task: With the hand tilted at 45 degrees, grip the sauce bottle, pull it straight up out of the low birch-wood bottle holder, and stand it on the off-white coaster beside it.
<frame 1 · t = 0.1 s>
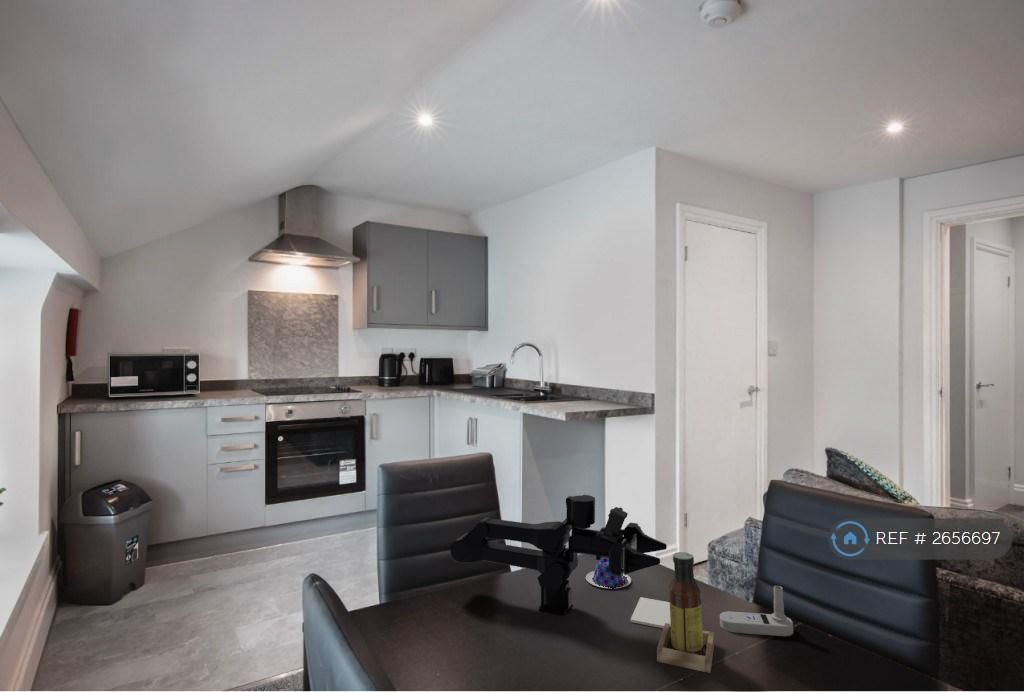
hand: (663, 553, 122), 17 cm above the table, tool horizontal, fingers open, 9 cm apart
pudding: (608, 582, 147), on the table
sauce bottle: (686, 653, 112), resting in bottle holder
coaster: (661, 615, 128), on the table
electronic device: (755, 630, 122), on the table
bottle holder: (686, 652, 112), on the table
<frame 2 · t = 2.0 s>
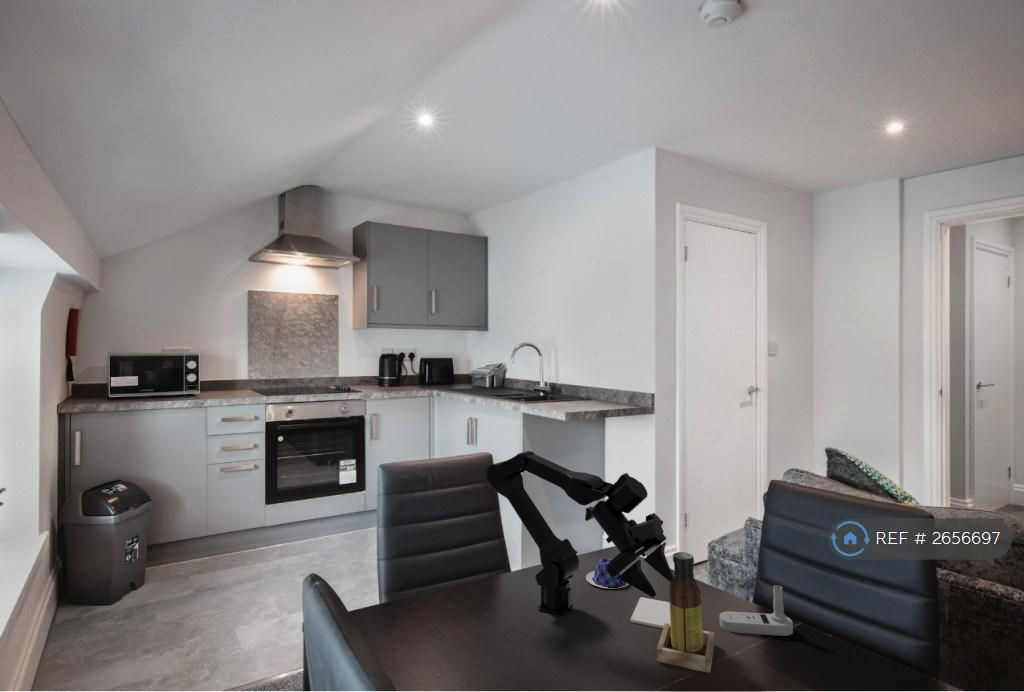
hand: (663, 588, 115), 12 cm above the table, tool tilted 45°, fingers open, 9 cm apart
nothing on the table moved.
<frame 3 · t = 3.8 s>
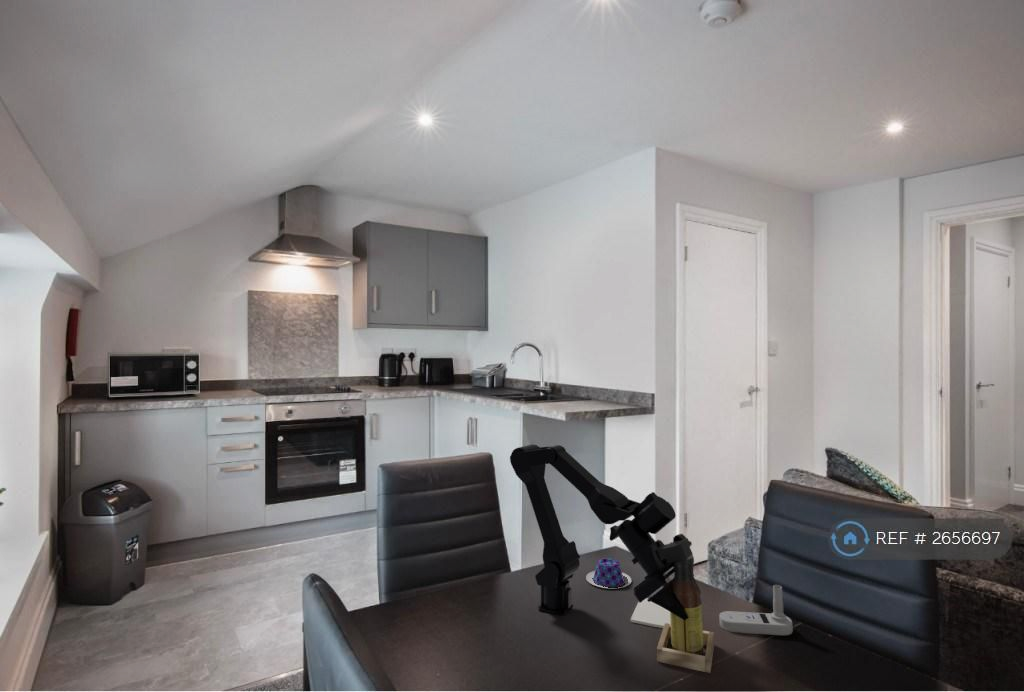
hand: (692, 612, 111), 9 cm above the table, tool tilted 45°, fingers closed on sauce bottle, 6 cm apart
sauce bottle: (686, 653, 112), resting in bottle holder, touching gripper
everything else where it was.
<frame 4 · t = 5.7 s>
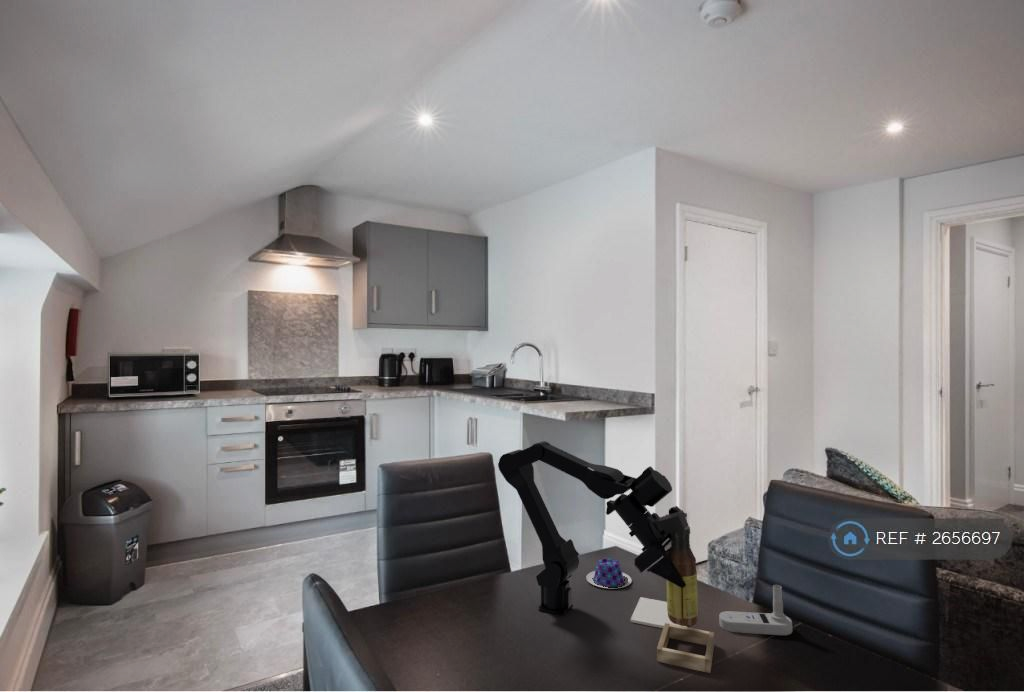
hand: (688, 580, 115), 13 cm above the table, tool tilted 45°, fingers closed on sauce bottle, 6 cm apart
sauce bottle: (681, 621, 116), point 4 cm above the table, touching gripper
everything else where it was.
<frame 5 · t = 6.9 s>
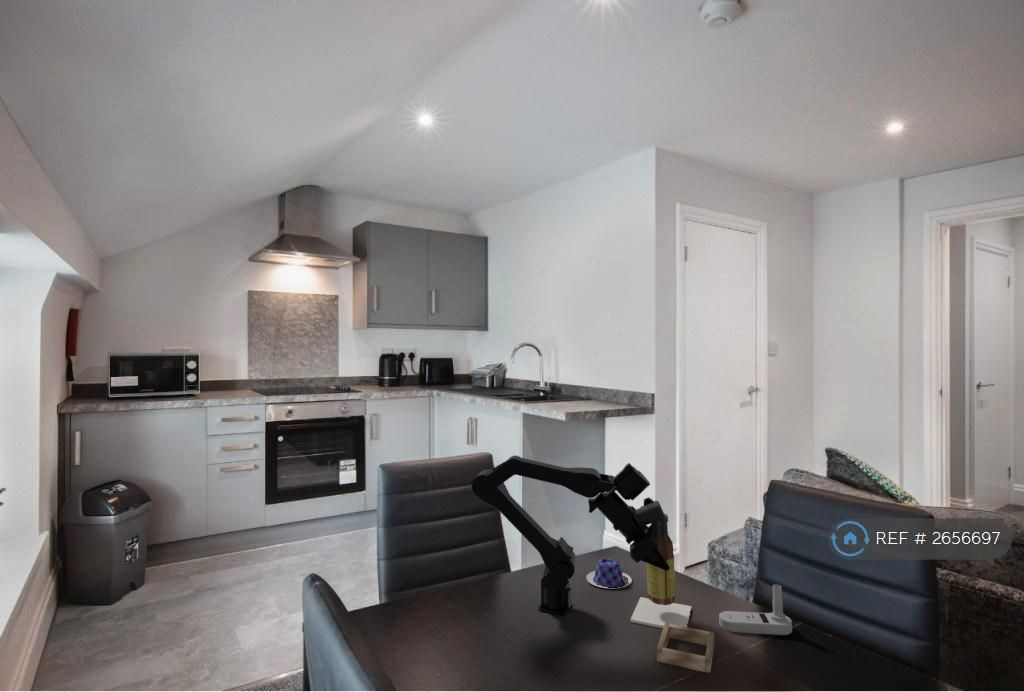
hand: (666, 563, 128), 12 cm above the table, tool tilted 45°, fingers closed on sauce bottle, 6 cm apart
sauce bottle: (660, 601, 128), point 3 cm above the table, touching gripper
everything else where it was.
when the fingers open (10 cm above the table, at t = 7.7 s): sauce bottle drops 1 cm, resting on coaster.
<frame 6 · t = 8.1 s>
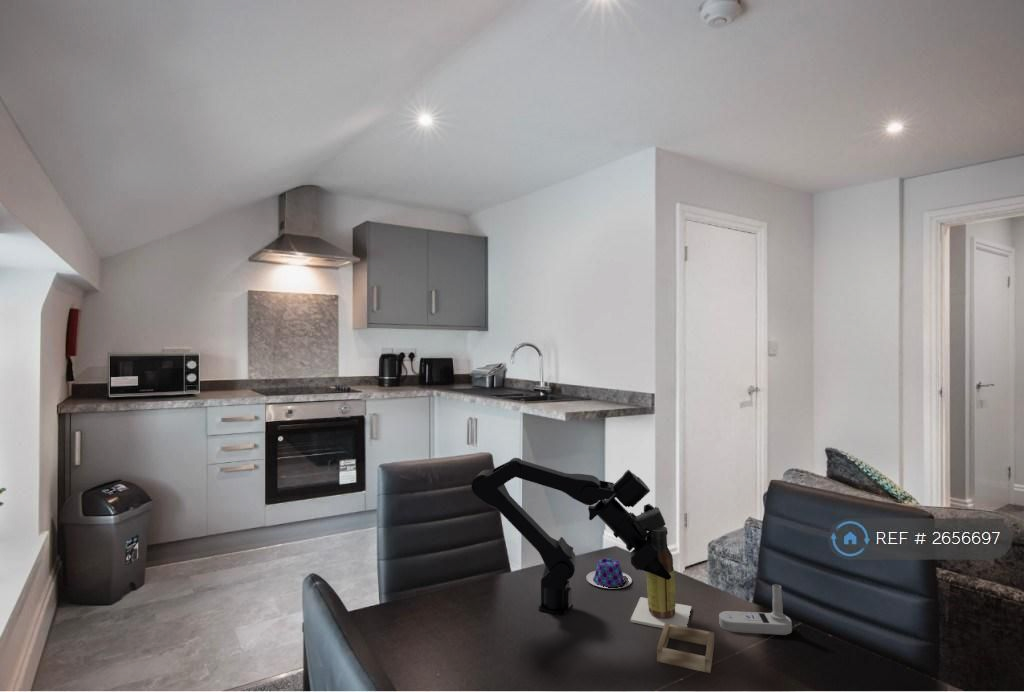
hand: (667, 570, 128), 11 cm above the table, tool tilted 45°, fingers open, 9 cm apart
sauce bottle: (661, 613, 128), resting on coaster
everything else where it was.
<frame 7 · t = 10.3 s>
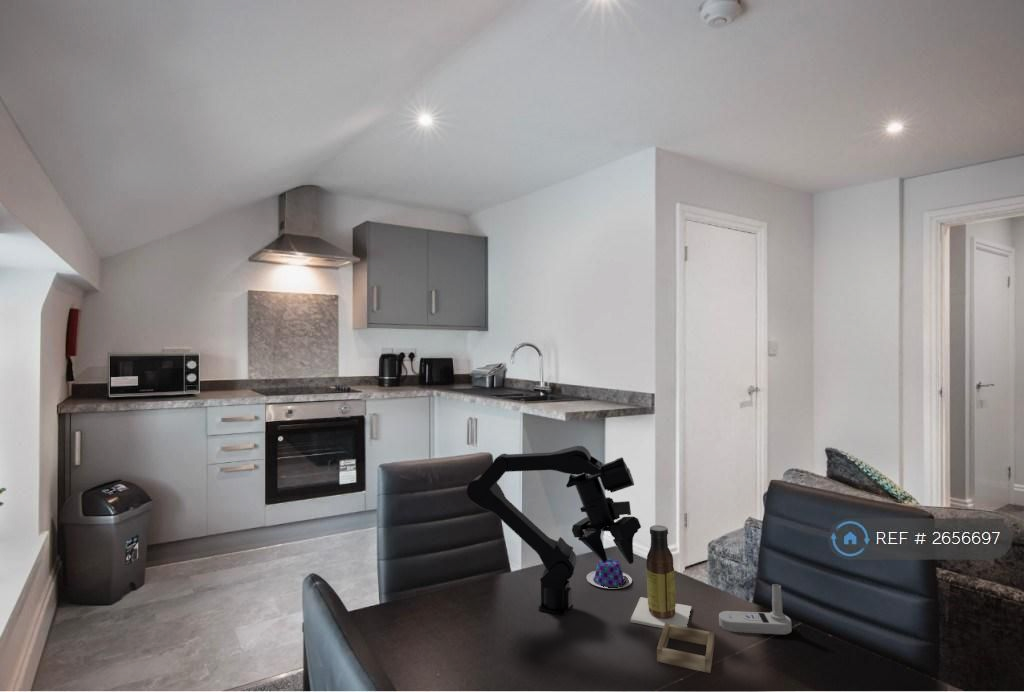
hand: (618, 562, 129), 12 cm above the table, tool tilted 20°, fingers open, 9 cm apart
nothing on the table moved.
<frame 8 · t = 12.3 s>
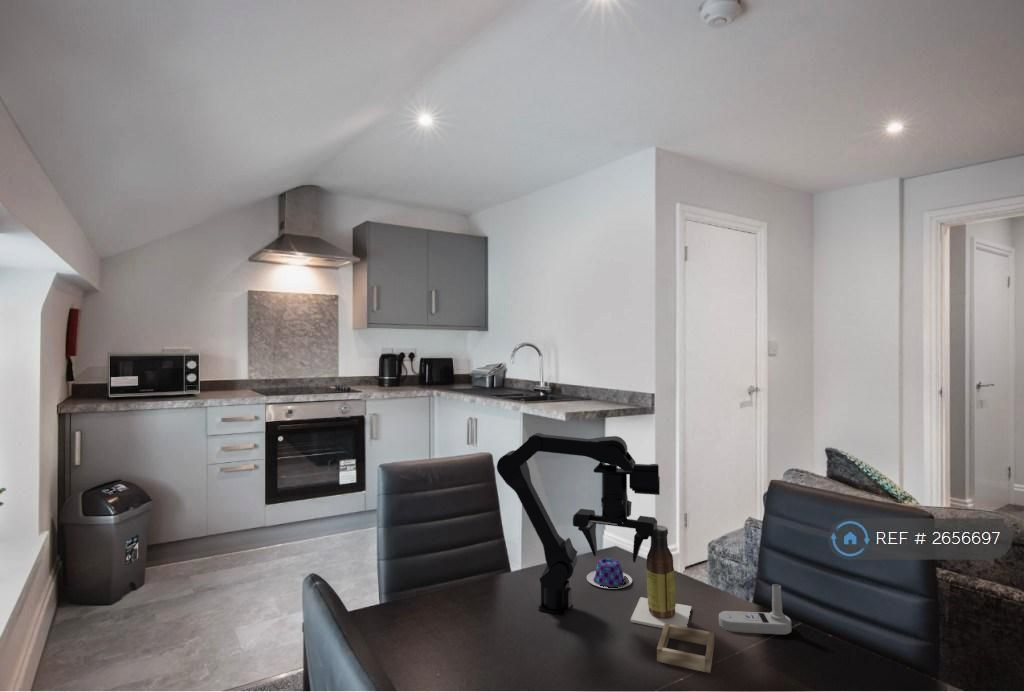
hand: (614, 558, 128), 13 cm above the table, tool pointing down, fingers open, 9 cm apart
at the end: sauce bottle inside the target area on the coaster (0.3 cm from its centre), point 0.4 cm above the coaster's base; sauce bottle tilted 0°; the gripper is holding nothing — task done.
